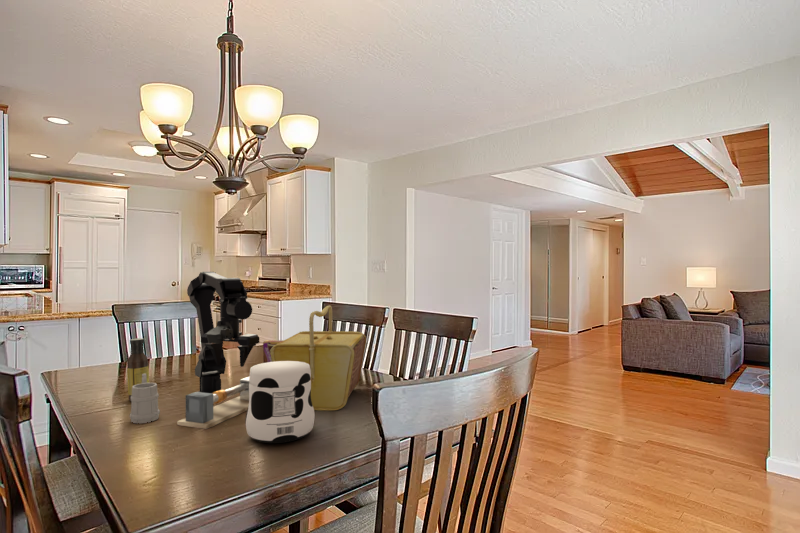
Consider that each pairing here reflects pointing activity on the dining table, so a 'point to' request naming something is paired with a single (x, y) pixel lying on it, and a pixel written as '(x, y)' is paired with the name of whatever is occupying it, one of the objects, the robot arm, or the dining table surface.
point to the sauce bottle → (136, 364)
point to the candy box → (268, 349)
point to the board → (220, 413)
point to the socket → (199, 407)
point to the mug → (144, 402)
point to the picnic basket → (326, 361)
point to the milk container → (279, 402)
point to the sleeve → (245, 394)
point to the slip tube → (229, 392)
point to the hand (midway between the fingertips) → (230, 365)
